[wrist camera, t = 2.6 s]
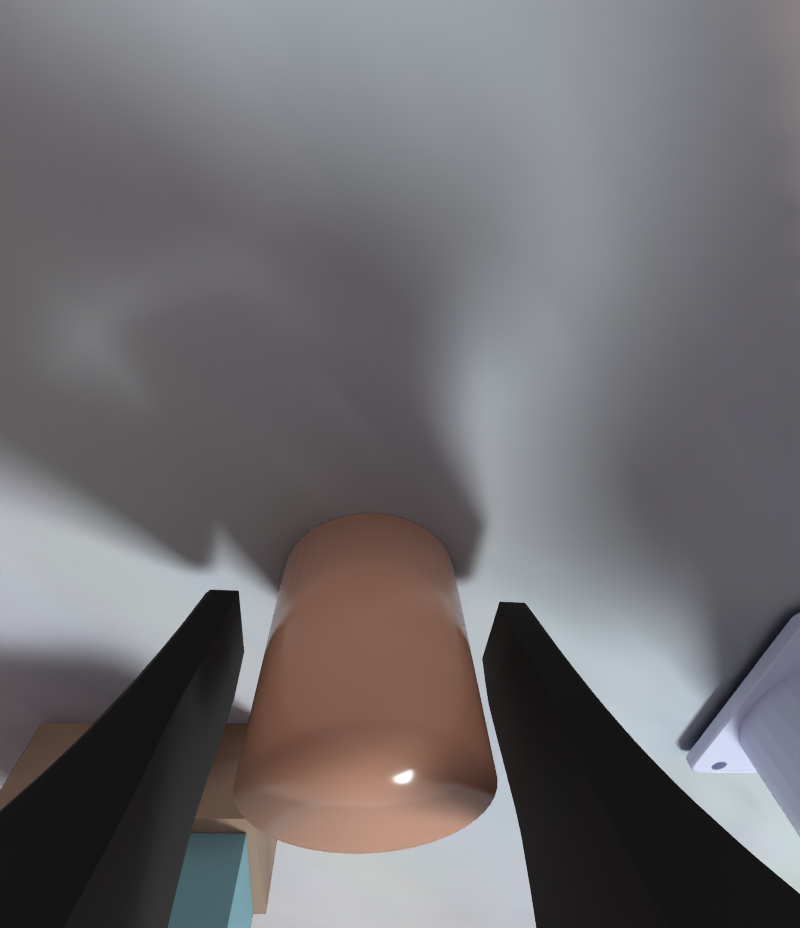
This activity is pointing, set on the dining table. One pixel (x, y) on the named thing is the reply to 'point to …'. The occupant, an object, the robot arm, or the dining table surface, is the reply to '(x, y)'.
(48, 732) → the walnut base slab
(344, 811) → the terracotta cylinder
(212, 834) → the teal top slab
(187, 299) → the dining table surface
